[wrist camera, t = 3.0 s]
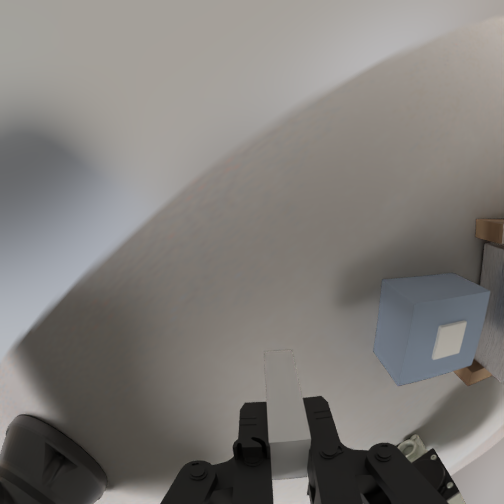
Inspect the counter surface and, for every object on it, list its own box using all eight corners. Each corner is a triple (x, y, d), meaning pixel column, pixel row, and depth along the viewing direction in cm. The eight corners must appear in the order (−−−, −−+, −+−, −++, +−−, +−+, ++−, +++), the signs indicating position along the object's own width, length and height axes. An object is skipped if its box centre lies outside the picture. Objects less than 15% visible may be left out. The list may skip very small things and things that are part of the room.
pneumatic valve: (410, 412, 23) (462, 496, 11) (434, 451, 25) (471, 514, 13) (364, 443, 23) (400, 533, 12) (397, 475, 25) (426, 541, 14)
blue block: (372, 350, 21) (399, 388, 16) (381, 279, 20) (416, 305, 15) (440, 337, 21) (473, 366, 16) (452, 272, 20) (493, 292, 15)
